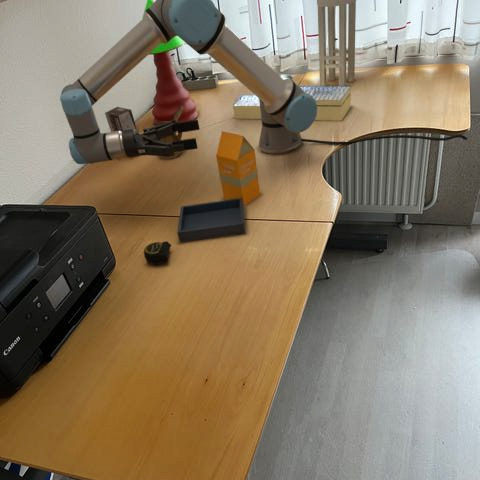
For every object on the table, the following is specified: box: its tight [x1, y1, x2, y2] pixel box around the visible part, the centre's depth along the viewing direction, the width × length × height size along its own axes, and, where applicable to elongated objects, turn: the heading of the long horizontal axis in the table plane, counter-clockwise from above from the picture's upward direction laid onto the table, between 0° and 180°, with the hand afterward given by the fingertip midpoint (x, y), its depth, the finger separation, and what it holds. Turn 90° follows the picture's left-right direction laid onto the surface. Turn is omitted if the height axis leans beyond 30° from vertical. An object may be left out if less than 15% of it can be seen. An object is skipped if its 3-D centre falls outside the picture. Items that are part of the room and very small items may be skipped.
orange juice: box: [215, 130, 261, 206], centre depth 143 cm, size 8×9×20 cm
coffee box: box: [104, 106, 139, 134], centre depth 183 cm, size 9×6×16 cm
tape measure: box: [143, 240, 172, 265], centre depth 130 cm, size 7×7×4 cm
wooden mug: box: [155, 105, 184, 160], centre depth 175 cm, size 9×14×18 cm, turn 68°
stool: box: [316, 0, 357, 87], centre depth 201 cm, size 16×16×35 cm
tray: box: [176, 198, 246, 243], centre depth 139 cm, size 19×15×3 cm
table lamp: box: [141, 0, 199, 126], centre depth 195 cm, size 20×20×45 cm
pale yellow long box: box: [232, 85, 352, 122], centre depth 192 cm, size 45×15×10 cm, turn 66°
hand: (197, 133), depth 136 cm, fingers open, 13 cm apart
